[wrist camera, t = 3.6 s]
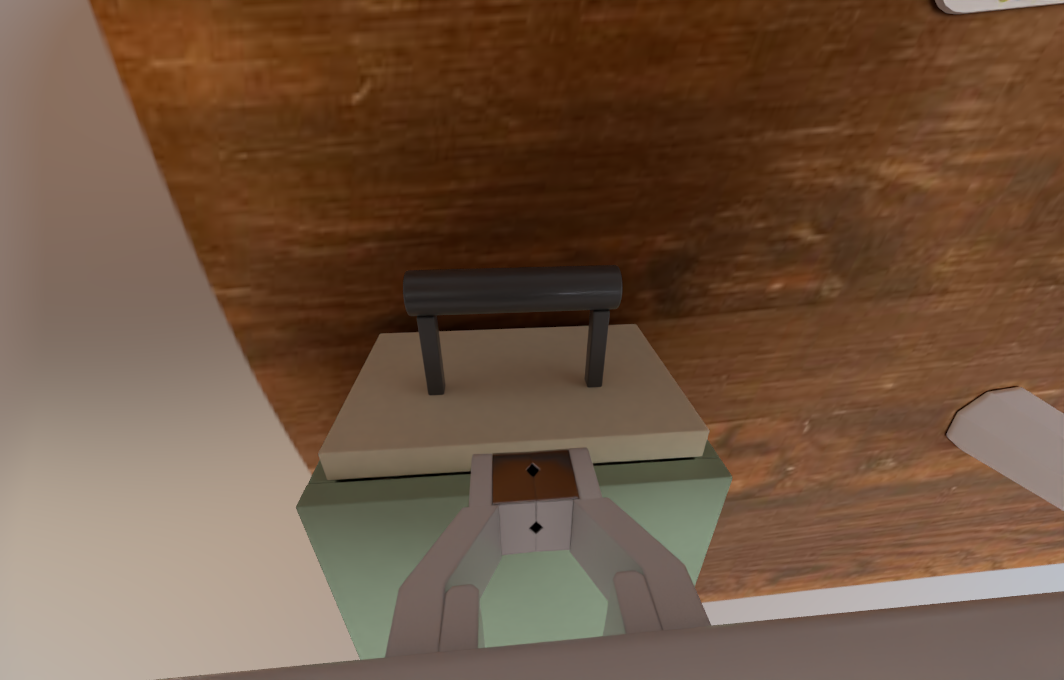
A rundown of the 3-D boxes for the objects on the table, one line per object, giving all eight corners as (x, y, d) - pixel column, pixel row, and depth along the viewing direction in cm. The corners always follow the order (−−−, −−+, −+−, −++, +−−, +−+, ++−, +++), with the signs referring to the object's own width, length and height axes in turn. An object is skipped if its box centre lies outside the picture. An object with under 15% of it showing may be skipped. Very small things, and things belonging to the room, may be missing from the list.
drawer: (359, 234, 17) (268, 314, 10) (649, 228, 18) (748, 298, 11) (415, 508, 25) (387, 654, 19) (611, 495, 26) (653, 628, 19)
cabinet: (376, 345, 21) (294, 507, 12) (638, 335, 22) (733, 477, 13) (414, 520, 27) (378, 704, 19) (612, 506, 28) (664, 674, 20)
